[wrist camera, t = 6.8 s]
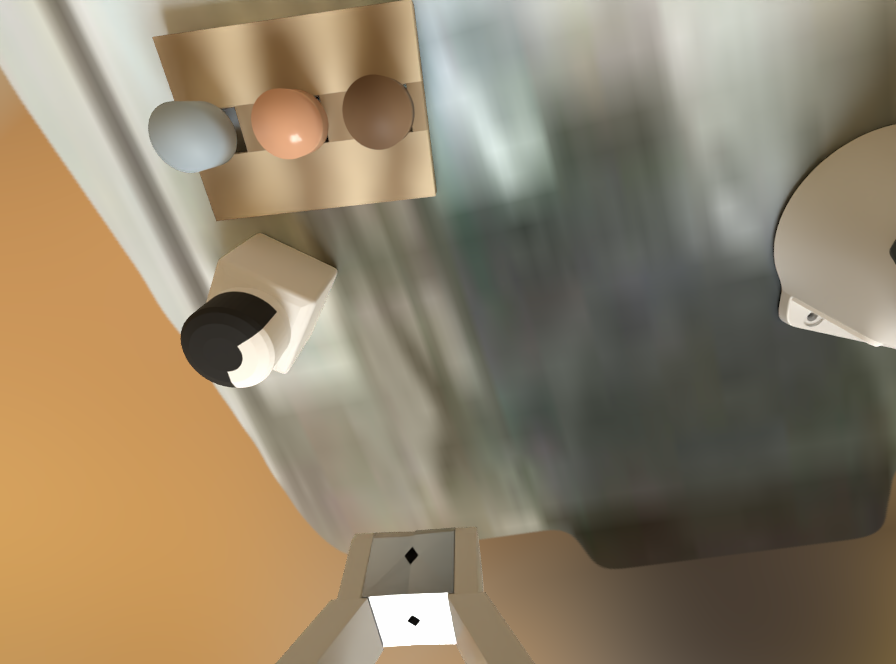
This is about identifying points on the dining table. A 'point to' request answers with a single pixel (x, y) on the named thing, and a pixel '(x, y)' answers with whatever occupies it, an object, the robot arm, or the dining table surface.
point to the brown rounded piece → (378, 111)
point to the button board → (321, 74)
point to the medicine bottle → (256, 312)
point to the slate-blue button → (192, 135)
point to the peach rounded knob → (289, 122)
